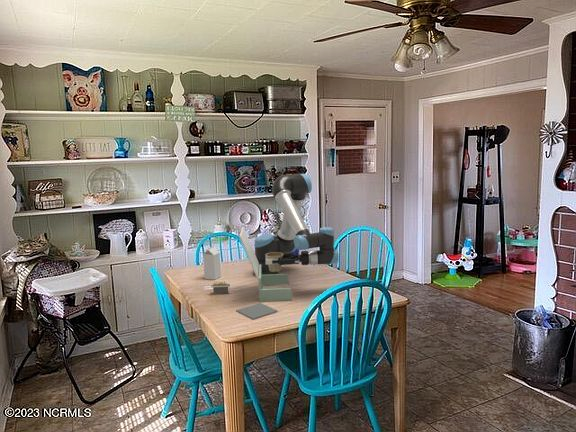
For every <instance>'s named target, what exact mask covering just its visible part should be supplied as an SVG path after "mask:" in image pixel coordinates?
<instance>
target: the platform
mask: <svg viewBox="0 0 576 432" xmlns="http://www.w3.org/2000/svg"><path fill="white" fill-rule="evenodd" d="M229 287H231V284H229V283H227V282H226V281H225V280H224V281H219V282H217V281H214V283H213V284H211V285H210V288H213V289H212V291H213V292H212V293H213V295H222V294H223V295H224V294H225V295H226V294H229Z"/></svg>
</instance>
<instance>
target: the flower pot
mask: <svg viewBox="0 0 576 432" xmlns="http://www.w3.org/2000/svg"><path fill="white" fill-rule="evenodd" d="M265 256H266V258H267V259H278V258H280V259H282V257H283V253H279V252H272V253H267V254H266V255H265ZM268 266H269V271H271V272H275V271H277V272H278V273H279V272H281V270H282V265H280V264H279V263H278V264H268Z"/></svg>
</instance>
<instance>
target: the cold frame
mask: <svg viewBox="0 0 576 432" xmlns="http://www.w3.org/2000/svg"><path fill="white" fill-rule="evenodd" d="M289 277H290V276H289V273H278V274H269V275H262V270H261V264H259V276H258V277H257V278H258V300H259V303H261V302H282V301H292V299H293V298H292V297H293V296H292V295H293V292H292V287H282V288H279V287H278V288H263V286H264V287H267V286H287V285H290V278H289Z"/></svg>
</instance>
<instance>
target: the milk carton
mask: <svg viewBox="0 0 576 432" xmlns="http://www.w3.org/2000/svg"><path fill="white" fill-rule="evenodd" d="M202 256H203V258H202V259H203V272H204V273H203V275H204V279H205V280H213V281H214V280H218V279H219V278H221V276H222V274H221V273H222V272H221V259H220V258H221V257H220V256H221V255H220V251H219V250H218V249H217V248H216V247H215V245H211V246H210V247H207V249H206V250H205V251H204V253H203V254H202Z"/></svg>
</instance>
